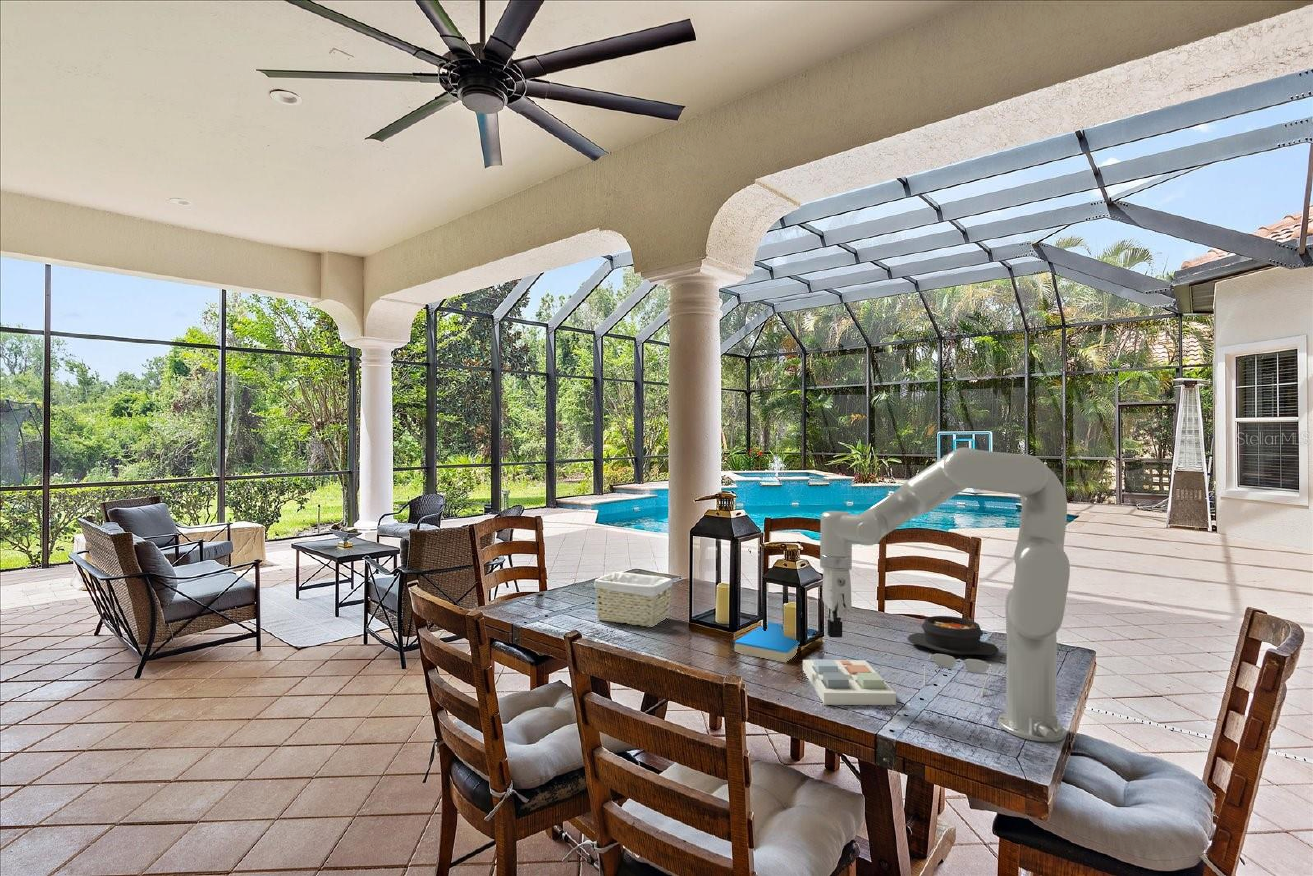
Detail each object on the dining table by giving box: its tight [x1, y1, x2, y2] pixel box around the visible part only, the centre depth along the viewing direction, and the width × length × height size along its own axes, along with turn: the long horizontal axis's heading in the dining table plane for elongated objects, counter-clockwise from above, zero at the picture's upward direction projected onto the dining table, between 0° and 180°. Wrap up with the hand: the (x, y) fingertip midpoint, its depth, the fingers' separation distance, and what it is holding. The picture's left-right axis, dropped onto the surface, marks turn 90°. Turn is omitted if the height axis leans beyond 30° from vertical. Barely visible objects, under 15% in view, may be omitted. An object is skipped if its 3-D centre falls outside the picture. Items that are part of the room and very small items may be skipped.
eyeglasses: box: [922, 653, 992, 698], centre depth 169 cm, size 15×18×4 cm
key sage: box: [857, 672, 885, 689], centre depth 158 cm, size 5×5×2 cm
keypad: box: [802, 659, 897, 706], centre depth 164 cm, size 23×17×3 cm
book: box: [732, 621, 817, 664], centre depth 196 cm, size 17×4×25 cm
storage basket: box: [593, 571, 673, 628], centre depth 225 cm, size 24×16×15 cm
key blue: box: [813, 658, 838, 675], centre depth 167 cm, size 5×5×2 cm
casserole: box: [907, 615, 1000, 656], centre depth 194 cm, size 25×19×8 cm
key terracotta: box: [846, 665, 871, 675], centre depth 167 cm, size 5×5×2 cm
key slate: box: [823, 672, 849, 689], centre depth 158 cm, size 5×5×2 cm
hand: (834, 636), depth 158 cm, fingers closed
